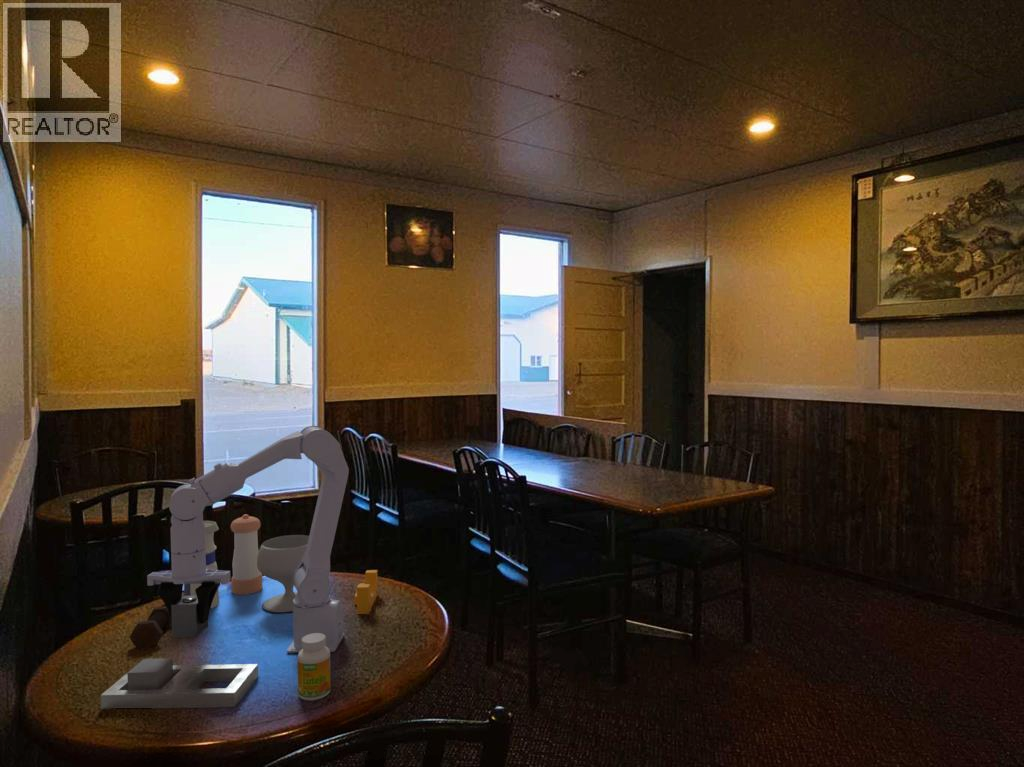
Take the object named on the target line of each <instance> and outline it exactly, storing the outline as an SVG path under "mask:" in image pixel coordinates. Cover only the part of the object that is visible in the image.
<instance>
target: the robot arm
mask: <svg viewBox="0 0 1024 767" xmlns="http://www.w3.org/2000/svg"><path fill="white" fill-rule="evenodd" d="M302 454H303V455H304V456H305V457H306V458H307V459H308V460H310V461H311V462H313V463H314V465H316V467H317V468H318V469H319V471H320V472H321V474H322V477H321V483H320V487H319V491H318V496H317V500H316V505H315V509H314V513H313V518H312V522H311V528H310V530H309V531H310V532H309V535H308V536H309V539H308V544H307V548H306V551H305V553H304V554H303V556H302V560H301V563H300V565H299V567H298V568H297V569H296V570H295V572H294V574H293V584H294V588H295V590H296V592H297V595H296V597H295V598H294V599H293V611H292V613H293V614H292V615H293V616H292V618H293V619H292V620H293V621H292V622H293V623H292V624H293V627H292V629H293V641H292V642H291V644H290V645H289V646H288V647H287V649H286V652H287V654H288V653H290V654H292V653H293V654H294V653H298V654H299V652H300V651H301V650H302V638H303V637H304V636H306V635H308V634H313V633H321V634H324V635H325V636H326V645H325V646H326V647H328V648H329V650H330V653H334V652H336V650H337V648H338V647H339V645H340V643H341V642H342V640H343V638H344V636H345V633H344V609H343V608H344V607H343V602H342V601H341V600H340V599H335V598H334V599H332V598H331V595H330V594H331V592H332V586H331V585H332V584H331V582H330V573H331V555H332V549H333V545H334V541H335V536H336V533H337V532H336V531H337V527H338V523H339V519H340V518H339V517H340V515H341V514H340V513H341V509H342V504H343V501H344V495H345V491H346V487H347V483H348V479H349V473H350V472H349V471H350V468H349V466H348V464H347V460H346V459H345V457H344V453H343V450H342V449H341V444H340V442H339V441H338V440H337V439H336V438H335V436H333V435H332V434H331V433H330V432H329V431H328V430H325V429H323V428H322V427H320V426H317V425H309V426H306V427H304V428H303V429H302V430H298V431H295V432H292V433H290V434H288V435H286V436H284V437H282V438H280V439H279V440H276V441H275V442H273V443H272V444H270V445H268V446H267V447H265V448H262V450H259V451H258V452H256V453H254V454H253V455H251V456H250V457H248V458H247V459H244V460H243V461H241V462H239V463H238V464H237V463H232V462H225V463H224V464H222V463H221V462H219V463H217V464H215V465H214V466H213V468H214V469H213V470H210V471H209V472H207V473H205V474H203V475H202V476H200V477H198V478H195V477H193V478H191V479H189V481H188V482H189V484H187V483H186V484H183V485H180V486H177V487H176V489H175V490H174V491H173V492H172V494H171V496H170V499H169V502H168V508H169V512H170V513H171V517H170V523H171V526H170V554H171V555H170V556H171V557H170V559H171V561H170V562H171V563H170V564H171V570H164V571H152V572H151V573H150V574H147V576H146V578H147V579H146V582H147V583H146V584H147V585H146V586H148V587H149V586H152V587H153V586H155V585H160V586H159V588H158V589H157V591H156V593H157V595H158V596H159V598H160V599H161V600H162V602H163V605H166V607H167V610H168V612H169V615H170V618H171V622H172V613H171V605H172V604H173V603H175V602H176V601H177V600H179V599H180V598H181V597H183V596H182V595H183V590H184V584H201V586H199V587H198V588H196V589H195V592H196V595H197V599H198V605H199V621H200V624H203V623H205V622H206V621H207V620H208V621H209V617H210V612H211V609H212V608H211V605H212V601H213V599H214V596H215V594H216V592H217V589H218V590H219V588H220V585H227V584H229V583H230V582H231V570H220V569H217V570H212V569H206V548H205V524H204V522H203V521H204V513H203V512H204V510H205V508H206V507H208V506H213V505H215V504H217V503H218V502H221V501H222V500H224V499H226V498H228V497H230V496H232V495H233V494H234V493H237V492H238V491H240V490H242V489H243V488H244V486H245V482H246V480H247V479H248V478H250V477H252V476H254V475H256V474H258V473H259V472H262V471H264V470H266V469H268V468H270V467H272V466H274V465H276V464H277V463H279V462H281V461H283V460H302V459H303V458H302ZM210 608H211V609H210Z"/></svg>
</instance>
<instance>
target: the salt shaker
mask: <svg viewBox="0 0 1024 767" xmlns="http://www.w3.org/2000/svg"><path fill="white" fill-rule="evenodd" d="M261 526H262V524H261V521H260V519H259V518H258V517H255V516H250V515H249V514H247V513H246V514H243V515H242V516H241V517H238V518H236V519H234V520H233V521H232V522H231V524H230V530H231V532H233V533H234V534H233V535H234V536H233V537H234V540H233V542H234V544H233V545H234V549H233V556H232V557H233V558H232V561H231V562H232V563H231V565H232V567H231V568H232V576H231V577H230V580H231V581H230V582H231V583H230V585H231V588H230V589H231V594H233V595H236V596H237V595H239V596H240V595H241V596H242V595H251V594H255V593H257V592H260V591H261V590H262V589H263V575H262V574H261V572H260V571H259V570H258V568H257V557H258V552H259V544H258V543H259V542H258V541H259V539H258V538H259V537H258V536H259V535H258V530H259V529H260V528H261Z"/></svg>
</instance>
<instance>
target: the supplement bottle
mask: <svg viewBox="0 0 1024 767" xmlns="http://www.w3.org/2000/svg"><path fill="white" fill-rule="evenodd" d="M325 645H326V636H325V635H324V634H321V633H313V634H308V635H306V636H304V637H303V638H302V650H301V651H300V652H299V653H298V654H297V695H298V697H299V698H300V699H302V700H303V701H316V700H317V701H319V700H320V699H323V698H325V697H327V696H328V695H329V694H330V692H331V690H332V688H331V686H332V685H331V684H332V683H331V652H330V650H329V648H328V647H326V646H325Z"/></svg>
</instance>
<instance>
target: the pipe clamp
mask: <svg viewBox="0 0 1024 767" xmlns="http://www.w3.org/2000/svg"><path fill="white" fill-rule="evenodd" d="M364 575H365V577H364V578H365V579H364V582H360V583H359V584H358V585H357V586H356V590H355V595H354V599H353V600H354V601H353V602H354V605H355V604H357V606H356V609H357V610H356V615H357V614H360V613H369V611H370V609H371V607H372V604H373V602H374V600H375V598H376V596H377V595H376V594H377V593H378V592H379V585H378V578H379V576H378V569H369V570H368V569H367V570H366V571H365V574H364ZM377 597H378V596H377ZM376 599H377V598H376ZM375 601H376V600H375ZM374 603H375V602H374ZM373 605H374V604H373ZM372 608H373V607H372ZM371 610H372V609H371ZM370 612H371V611H370ZM369 614H370V613H369Z"/></svg>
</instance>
